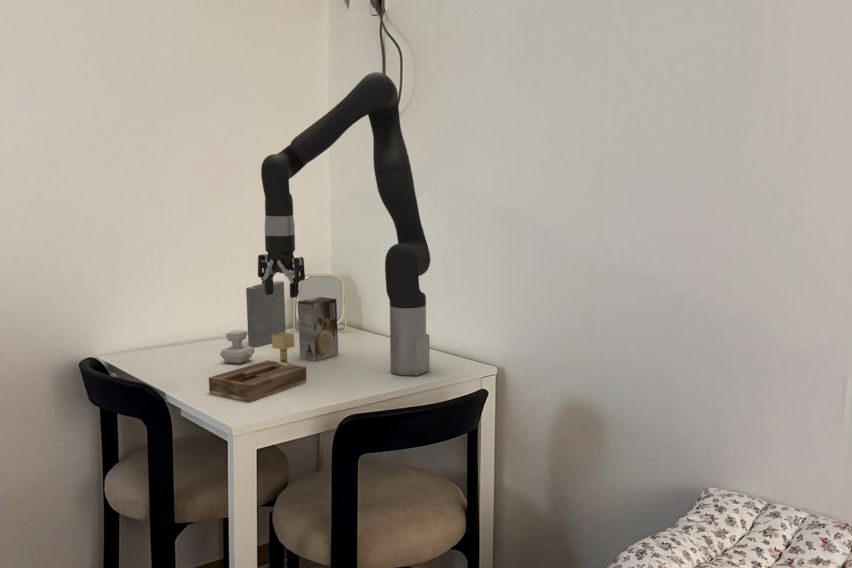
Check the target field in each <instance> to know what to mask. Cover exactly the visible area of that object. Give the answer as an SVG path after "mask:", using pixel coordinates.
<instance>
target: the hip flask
mask: <svg viewBox="0 0 852 568" xmlns="http://www.w3.org/2000/svg"><path fill="white" fill-rule="evenodd" d="M272 280H273V288H274V293H273V294H271V295H266V292H265V281H264V280H263V278H261V277H260V281H261V283H260V284H255V285H253V286H248V287H246V288H245V290H246V291H245V293H246V294H245V295H246V296H245V297H246V315H247V317H246V318H247V340H248V342H247V343H248V345H247V346H250V347H253V348H254V349H255V348H261V347H264V346H268V345H270V344H271V345H272V335H273V334H276V333H280V332H286V333H287V330H286V326H287V325H286V305H285V304H286V302H285V301H286V299H285V296H286V295H285V282H284V281H281V280H280V281H279V280H278V281H274V278H273V279H272Z"/></svg>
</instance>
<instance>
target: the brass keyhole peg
mask: <svg viewBox="0 0 852 568" xmlns="http://www.w3.org/2000/svg"><path fill="white" fill-rule="evenodd" d="M271 347H272V348H273V349H279V360H280V361H279V362H284V363H290V364H291V365H293V362H291V361H288V349H290V348H291V349H292V348H294V347H295V334H294V333H293V332H287V331H286V332H280V333H276V334H273V335H272V343H271Z"/></svg>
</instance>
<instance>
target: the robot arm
mask: <svg viewBox="0 0 852 568" xmlns="http://www.w3.org/2000/svg"><path fill="white" fill-rule="evenodd" d="M398 93H399V92H398V90H397V87H396V84H395V83H394V82H393V80H392V79H391V78H390V77H389V76H388V75H387V74H385V73H383V72H379V71H374V72H370V73H368V74H366V75H365V76H364V77H363V78H362V79H361V80H360V81H359V82H358V83H357V84H356V85H355V86H354V87H353V88H352V90H350V92H349V93H347V94H346V96H345V97H344V98H343V99H341V101H340V102H339V103H337V104H336V105H335V106H334V107H333V108H332V109H331V110H329V111H328V112H327V113H325V114H323V116H321V118H319V119H318V120H316V121H315V122H313V123H312V124H311V125H310V126H308V127H307V128H306V129H304V130H303V131H301V133H299V134H297V136H295V137H294V138H293V139H292V140H291V142H290V144H288V145H287V146H286V147H285V148H283V149H282V150H281V151H280V152H278V153H273V154H270V155H268V156H266V157H265V158H263V161H262V163H261V167H260V168H261V169H260V175H261V184H262V188H263V193H264V208H265V209H264V212H265V216H264V246H265V247H264V249H265V251H266V253H263V254H258V256H257V277H258V278H260V279H261V278H263V280H264V281H265V292H266V295H271V294H273V293H274V288H273V282H274V276H275V275H276V274H277V273H279V274H283V275H284V277H287V279H288V281H289V296H290V298H291V299H294V298H298V296H299V294H300V289H299V288H300V287H299V286H300V285H299V284H300V282H302V281H305V280H306V273H305V259H304V257H303V256H299V257H295V255H294V252H295V250H296V233H295V232H296V229H295V220H294V219H295V218H294V203H293V202H294V200H293V195H292V193H291V192H290V179H291V178H293V177H294V176H295V175H297V174H298V173H299V172H300V171H301V170H302V169H303V168H305V166H306V165H307V164H308V163H310V162H311V161H313V160H315V159H316V158H317V157H319V156H320V155H322V154H323V153H324V152H325V151H327V150H328V149H329V148H331V146H333V145H334V144H335V143H336V142H337V141H338V140H339V139H340V138H341V137H342V136H343V135H344V133H346V132H347V130H349V128H351V127H352V126H353V125H354V124H356V123H357V122H358V121H360V120H361V119H362V118H363V119H364V117H366V116H368V119H369V124H370V128H371V131H372V139H373V140H372V141H373V151H372V152H373V153H372V154H373V170H374V171H373V172H374V176H375V181H376V186H377V187H376V189H377V191H378V195H379V197H380V200H381V202H382V203H383V205H384V207H385V209H386V210H387V212H388V214H389V216H390V218H391V219H392V222H393V224H394V229H395V232H396V238H397V243H396V244H394V245H391V247H390V248H389V249H388V251H387V253H386V255H385V261H384V272H385V273H384V275H385V287H386V288H385V289H386V294H387V297H388V300H389V352H390V353H389V356H390V357H389V358H390V359H389V361H390V373H391V374H395V375H398V376H415V377H418V376H420V375H422V374H424V373H427V372H430V370H431V368H430V366H431V365H430V363H431V361H430V359H431V357H430V354H431V353H430V349H431V348H430V334H428V333H427V296H426V294H425V293H424V292H422V291H421V288H420V277H421V276H422V275H425V274H426V272H427V271H428V270H429V267H430V265H431V253H430V249H429V246H428V243H427V239H426V235H425V231H424V228H423V225H422V221H421V217H420V211H419V210H420V209H419V206H418V200H417V195H416V190H415V184H414V177H413V171H412V168H411V167H412V166H411V162H410V159H409V158H410V157H409V154H408V149H407V145H406V143H405V140H404V136H403V132H402V129H401V122H400V121H401V120H400V118H401V117H400V110H399V94H398ZM272 279H273V280H272Z"/></svg>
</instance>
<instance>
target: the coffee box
mask: <svg viewBox="0 0 852 568" xmlns="http://www.w3.org/2000/svg"><path fill="white" fill-rule="evenodd" d="M337 303H338V302H337V298H331V297H322V296H319V297H314V298H309V299H308V298H307V299H303V300H299V301H297V312H298V313H297V314H298V315H297V316H298V335H299V336H298V337H299V338H298V339H299V341H298V342H299V358H300V359H303V360H309V361H313V362H319V361H321V360H324V359H328V358H331V357H334V356H338V355H339V337H338V310H337V309H338V308H337Z"/></svg>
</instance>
